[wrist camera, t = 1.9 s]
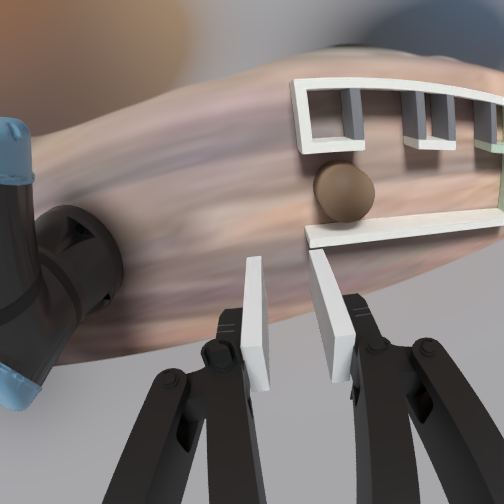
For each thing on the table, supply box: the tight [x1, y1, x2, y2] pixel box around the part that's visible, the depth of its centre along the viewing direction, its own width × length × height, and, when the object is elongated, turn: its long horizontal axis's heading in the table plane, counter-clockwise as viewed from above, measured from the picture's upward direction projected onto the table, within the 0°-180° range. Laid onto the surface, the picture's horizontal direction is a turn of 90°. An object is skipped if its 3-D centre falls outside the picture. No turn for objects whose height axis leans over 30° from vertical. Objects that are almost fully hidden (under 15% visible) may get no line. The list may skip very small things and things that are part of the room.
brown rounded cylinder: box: [313, 160, 375, 223], centre depth 28 cm, size 6×6×4 cm
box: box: [289, 77, 504, 248], centre depth 26 cm, size 30×16×4 cm, turn 98°
